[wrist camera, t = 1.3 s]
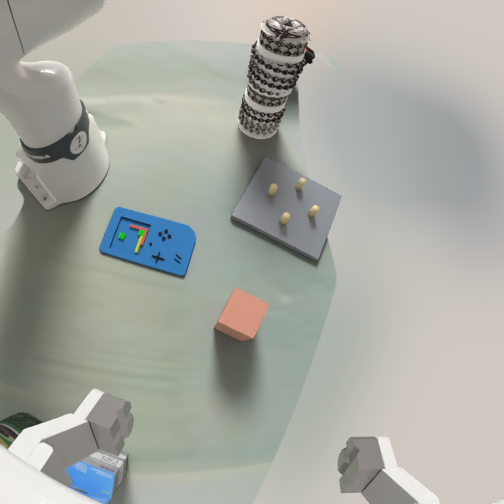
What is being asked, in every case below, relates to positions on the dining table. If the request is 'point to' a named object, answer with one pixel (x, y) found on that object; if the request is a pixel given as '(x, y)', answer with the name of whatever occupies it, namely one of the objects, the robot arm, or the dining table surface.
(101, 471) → the label tape box
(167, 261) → the handheld gaming device
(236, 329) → the salmon pink block
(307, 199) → the plate
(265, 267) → the dining table surface
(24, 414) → the coffee jar
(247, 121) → the decorative candle
